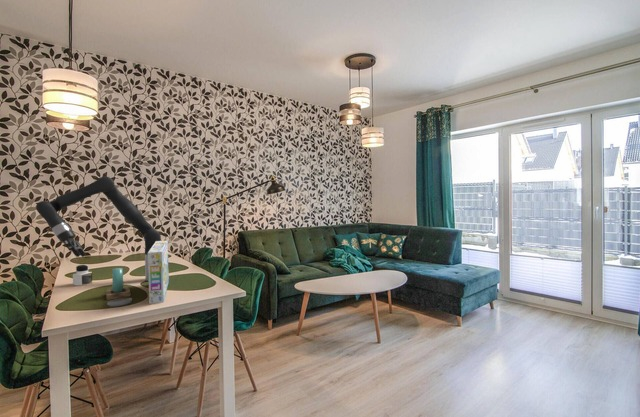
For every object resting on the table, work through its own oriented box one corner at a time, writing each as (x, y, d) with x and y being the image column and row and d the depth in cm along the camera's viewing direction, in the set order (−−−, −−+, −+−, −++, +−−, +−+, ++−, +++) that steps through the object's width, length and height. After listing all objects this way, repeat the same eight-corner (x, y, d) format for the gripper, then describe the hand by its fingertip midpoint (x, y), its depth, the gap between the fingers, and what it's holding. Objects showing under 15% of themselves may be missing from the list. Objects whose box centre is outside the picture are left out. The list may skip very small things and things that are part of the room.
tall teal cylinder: (123, 293, 181) (122, 267, 180) (123, 295, 177) (123, 269, 176) (112, 295, 178) (111, 268, 178) (113, 297, 174) (112, 270, 173)
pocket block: (128, 291, 185) (128, 287, 185) (130, 296, 176) (130, 291, 176) (106, 294, 179) (106, 290, 179) (106, 300, 170) (106, 295, 170)
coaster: (131, 298, 173) (131, 296, 173) (133, 303, 164) (133, 301, 164) (106, 302, 167) (106, 300, 167) (107, 308, 158) (107, 306, 158)
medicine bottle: (82, 286, 196) (81, 266, 196) (72, 285, 198) (72, 266, 197) (92, 282, 203) (92, 264, 203) (83, 282, 205) (82, 263, 204)
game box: (156, 283, 201) (155, 241, 200) (169, 282, 203) (168, 240, 202) (148, 304, 163) (147, 251, 162) (163, 302, 166) (162, 250, 165)
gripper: (65, 227, 174) (83, 252, 175) (75, 229, 187) (92, 252, 188) (51, 235, 171) (69, 260, 173) (62, 237, 184) (79, 259, 186)
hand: (81, 256), depth 180 cm, fingers open, 8 cm apart
